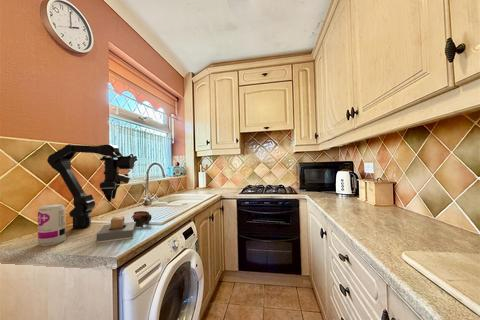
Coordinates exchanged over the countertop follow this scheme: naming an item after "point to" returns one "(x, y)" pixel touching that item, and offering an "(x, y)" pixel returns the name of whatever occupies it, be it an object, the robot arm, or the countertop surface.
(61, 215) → the supplement can
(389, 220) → the countertop surface
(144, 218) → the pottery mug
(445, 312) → the countertop surface
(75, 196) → the robot arm
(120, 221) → the wooden toy block
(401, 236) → the countertop surface
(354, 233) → the countertop surface
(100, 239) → the charcoal well block
